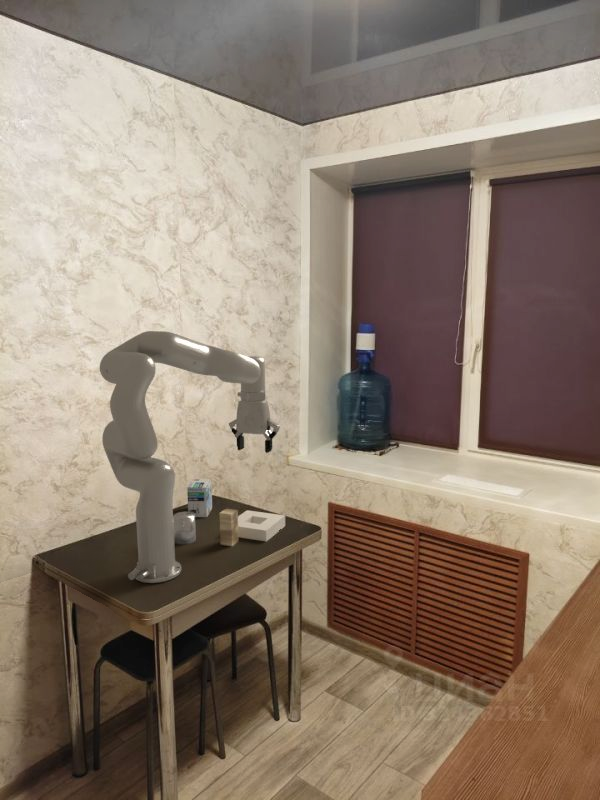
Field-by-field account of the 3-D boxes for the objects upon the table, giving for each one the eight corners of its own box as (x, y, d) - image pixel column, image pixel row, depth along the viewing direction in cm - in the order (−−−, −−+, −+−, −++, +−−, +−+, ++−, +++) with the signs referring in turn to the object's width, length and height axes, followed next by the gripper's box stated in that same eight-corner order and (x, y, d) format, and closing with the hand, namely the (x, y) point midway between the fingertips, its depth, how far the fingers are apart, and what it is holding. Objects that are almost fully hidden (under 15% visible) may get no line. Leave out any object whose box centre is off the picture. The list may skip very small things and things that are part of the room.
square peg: (232, 546, 174) (231, 514, 172) (220, 544, 175) (219, 512, 174) (238, 541, 177) (237, 510, 176) (227, 539, 179) (226, 508, 177)
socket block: (266, 541, 177) (266, 530, 177) (226, 535, 182) (226, 524, 182) (285, 525, 190) (285, 515, 189) (247, 520, 195) (247, 510, 195)
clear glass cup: (188, 545, 175) (187, 520, 174) (169, 542, 177) (168, 517, 176) (200, 537, 181) (199, 513, 180) (182, 534, 183) (181, 510, 182)
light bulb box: (207, 517, 198) (206, 487, 196) (187, 517, 198) (186, 487, 197) (212, 507, 209) (211, 478, 207) (194, 507, 209) (192, 478, 207)
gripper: (222, 397, 179) (224, 450, 182) (273, 399, 173) (274, 455, 175) (234, 393, 186) (236, 445, 189) (283, 396, 180) (284, 450, 182)
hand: (254, 450), depth 182 cm, fingers open, 9 cm apart
